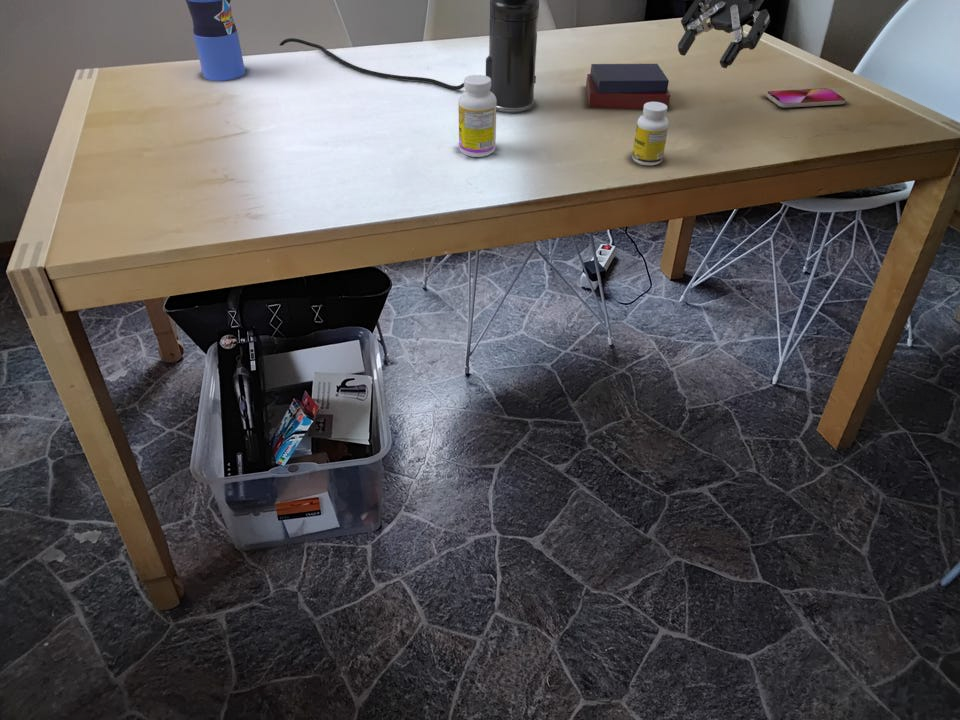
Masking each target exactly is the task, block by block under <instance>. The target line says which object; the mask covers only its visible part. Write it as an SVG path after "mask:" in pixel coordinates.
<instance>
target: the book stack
mask: <svg viewBox="0 0 960 720" xmlns="http://www.w3.org/2000/svg"><path fill="white" fill-rule="evenodd" d="M669 82H670V80H669V78H668V77H667V75H666V74H665V73H664V70H662V68H661V67H660V66H659V64H658V63H591V66H590V73H587V74H586V83H585V84H586V85H585V92H586V98H587V105H588V108H593V109H594V108H595V109H596V108H597V109H600V108H601V109H624V110H625V109H627V110H628V109H629V110H643V108H644V104H645V103H648V102H660V103H663V104H665V105H667V111H668V109H669V105H670V98H671V93H670V92H669V84H670V83H669Z"/></svg>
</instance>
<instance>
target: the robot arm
mask: <svg viewBox="0 0 960 720" xmlns="http://www.w3.org/2000/svg"><path fill="white" fill-rule="evenodd" d="M764 1H765V0H693V2H692V3H691V5H690V6H689V8H688V10H687V11H686V12H685V13H684V15H683V17H682V18H681V20H680V23H681V25H682V28H683V29H684V33H683V36H682V37H681V39H680V40H679V42H678V44H677V51H678V53H679V55H681V56H683V57H684V56H686V55H687V53H688V52H689V50H690V48H691V47H692V45H693V44H694V42H695V40H696V38H697V36H699V35H701V34H703V33H707V32H710V31H711V30H713V29H714V30H715V31H723V32H724V33H727V34H731V33H733V41H731V42H730V43H729V44H728V47H727V48H726V49H725V51H724V53H723V54H722V56H721V58H720V59H719V65H720V67H721V68H723V69H727V68H728V67H730V66H731V65H733V63H734V62H735V60H736V58H737V57H738V55H739V54H740V52H741V51H742V50H745V49H748V50H755V49H756V47H757V45H758V43H759V42H760V40H761V38H762V37H763V35H764V33H765V31H766V29H767V28H768V26H769V24H770V22H771V19H770V14H769V11H768V9H767V8H764V9H762V10H760V11H758V10H759V9H760V7H761V5H762V4H763V2H764ZM539 11H540V0H489V38H488V39H489V40H488V41H489V42H488V43H489V44H488V56H487V57H486V58H485V76H488V77H490V78H491V89H490V92H492V93H493V94H494V95H495V97H496V100H497V101H496V112H501V113H514V114H515V113H523V112H526V111H529V110H531V109H532V108H533V107H534V105H535V103H534V102H535V99H534V98H535V84H536V83H537V82H536V81H537V80H536V79H537V76H536V63H537V61H536V60H537V44H538V27H539ZM708 20H709V21H708ZM707 21H708V22H707ZM752 21H753V24H752V26H751V27H750V30H749V31H748V33H747V35H746V36H745V34H744V33H745V32H744V26H746V25H747V24H749V23H751V22H752ZM287 43H299V44H302V45H305V46H309V47H311V48H316V49H319V50H320V51H322V52H323V53H325V54H326V55H327V56H329V57H331V58H332V59H334V60H335V61H337V62H338V63H340V64H342V65H344V66H346V67H348V68H351V69H353V70H355V71H358V72H361V73H364V74H368V75H372V76H376V77H382V78H388V79H394V80H403V81H416V82H424V83H430V84H434V85H437V86H440V87H443V88H445V89H448V90H453V91H459V90H461V89H463V88H465V87H464V82H462V83H461V84H459V85H452V84H451V85H450V84H448V83H445V82H443V81H440V80H437V79H434V78H428V77H422V76H420V77H419V76H409V75H400V74H399V75H398V74H393V73H392V74H390V73H385V72H379V71H374V70H371V69H367V68H362V67H361V66H360V67H359V66H358V65H355V64H353V63H349V61H346V60H344V59H342V58H340V57H339V56H337V55H336V54H334V53H332V52H331V51H329V50H328V49H326V48H325V47H324V46H322V45H319V44H316V43H313V42H310V41H307V40H303V39H300V38H293V37H291V38H286V39H283V40H282V41H281V42H280V43H279V45H278V46H284V45H285V44H287Z"/></svg>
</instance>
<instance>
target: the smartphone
mask: <svg viewBox="0 0 960 720" xmlns="http://www.w3.org/2000/svg"><path fill="white" fill-rule="evenodd" d="M765 97H766V98H768V99H769V100H770V101H772V102H773V103H774V104H776V105H777V107H780V108H784V109H785V108H802V107H818V106H837V105H844V104H845V103H846V101H847V100H846V99H847V98H845V97H843V96H841V94H838V92H835V91H834V90H833V89H830V88H828V87H827V88H826V87H821V88H803V89H801V88H800V89H785V90H768V91H766V93H765Z"/></svg>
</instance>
